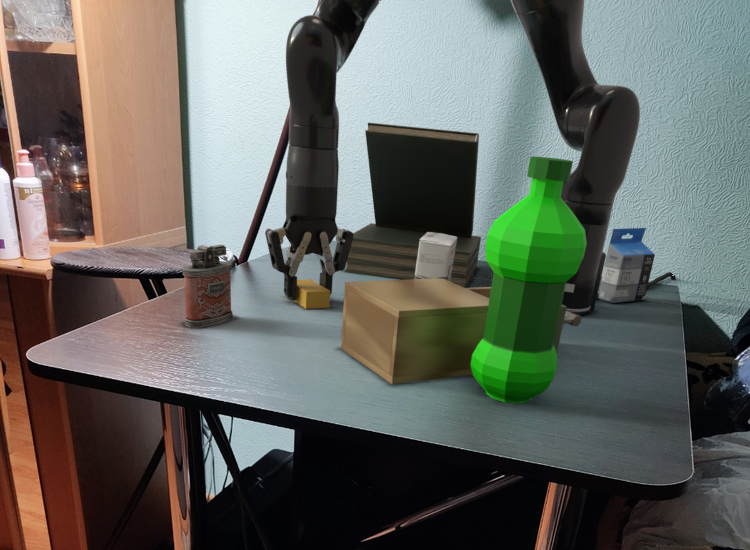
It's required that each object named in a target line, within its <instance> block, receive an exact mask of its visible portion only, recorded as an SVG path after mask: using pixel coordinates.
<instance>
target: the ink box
mask: <svg viewBox="0 0 750 550" xmlns="http://www.w3.org/2000/svg"><path fill="white" fill-rule="evenodd" d="M456 243H457V237H456V236H451V235H447V234H442V233H434V232H427V233H426V234H425V235H423V236H422V237H421V238H420V242H419V249H418V256H417V263H416V270H415V277H414V279H436V278H443V279H445V280H447V281H451V275H452V268H453V262H454V256H455V249H456Z"/></svg>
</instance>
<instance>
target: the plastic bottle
mask: <svg viewBox="0 0 750 550" xmlns="http://www.w3.org/2000/svg"><path fill="white" fill-rule="evenodd" d="M573 163H574V160H570V159H563V158H556V157H545V156H544V157H543V156H530V158H529V163H528V169H527V174H526V176H527V178H531V183H530V188H529V194H527V195H526V196H525V197H523V198H522V199H521V200H519V201H518V202H517V203H515V204H514V205H512V206H511V207H510V208H508V209H507V210H506V211H505V212H504V213H502V214H501V215H500V216H499V217H498V218H496V219H495V220H493V222H492V224H491V226H490V228H489V230H488V231H487V234H486V240H485V247H484V250H485V251H484V252H485V261H486V263H487V264H488V266H489V267H490V269H491V270H492V272H493V274H492V280H491V286H490V287H491V292H490V299H489V305H488V311H487V317H486V324H485V330H484V336H483V339H482V340H481V341H480V343H479V344H478V345H477V347H476V349H475V351H474V352H473V354H472V359H471V369H472V373H473V375H472V376H473V377H474V379H475V381H476V383H478V384H479V386H480V387H481V388H482V390H483V391H485V394H486V395H487V396H489V397H490V398H491V399H493V400H495V401H498V402H499V401H500V402H503V403H507V404H519V405H520V404H525V403H528V402H530V400H531V399H534V398H536V397H537V396H539V395H541V394H543V393H544V392H545V391H547V390H548V389H549V387H550V385H551V384H552V382H553V381H554V378H555V376H556V372H557V368H558V364H559V360H558V353H557V354H556V350H555V347H554V344H553V343H554V338H555V333H556V329H557V324H558V319H559V314H560V309H561V305H562V300H563V295H564V290H565V285H566V281H568V280H569V279H570V278H571V277H573V276H574V275H575V274H576V273H577V271H578V269H579V266H580V264H581V262H582V259H583V257H584V254H585V249H586V244H587V241H586V234H585V229H584V228H583V226H582V225H581V223H580V222H579V220H578V219H577V218H576V216H575V215H574V213H573V212H572V211H571V209H570V208H569V207H568V206H567V204H566V203H565V202H564V201H563V200H562V198H561V193H562V187H563V182H564V181H569V179H570V174H571V173H572V169H573Z"/></svg>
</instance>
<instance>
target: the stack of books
mask: <svg viewBox="0 0 750 550" xmlns="http://www.w3.org/2000/svg"><path fill="white" fill-rule="evenodd" d="M364 133H365V141H366V142H365V143H366V150H367V160H368V167H369V168H368V169H369V177H370V186H371V195H372V205H373V214H374V222H375V223H372V222H370V223H368V224H367V225H366V226H363V227H361V228H360V229H358V230H356V231H355V232H352V233H353V234H354V237H353V241H352V244H351V248H350V252H349V255H348V259H347V263H346V268H345V269H344V272H345V273H351V274H358V275H359V274H360V275H367V276H368V275H369V276H374V277H382V278H389V279H395V280H410V279H414V277H415V270H416V263H417V256H418V249H419V242H420V238H421V237H422V236H423V235H425V234H426V233H427V232H434V233H442V234H447V235H451V236H456V237H457V243H456V249H455V256H454V262H453V268H452V275H451V281H450V282H452V283H454V284H457V285H459V286H461V287H464V288H467V286H468V285H469V283H470V281H471V279H472V277H473V275H474V274H475V272H476V270H477V268H478V261H479V254H480V247H481V240H482V236H480V235H473V232H474V220H475V218H474V217H475V207H476V188H477V174H478V173H477V171H478V158H479V143H480V142H479V141H480V133H478V132H468V131H457V130H448V129H447V130H446V129H437V128H429V127H417V126H407V125H397V124H396V125H395V124H388V123H387V124H386V123H376V122H367V129H365V132H364Z"/></svg>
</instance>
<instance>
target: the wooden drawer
mask: <svg viewBox="0 0 750 550" xmlns="http://www.w3.org/2000/svg"><path fill="white" fill-rule="evenodd" d="M466 289H468V290H471V291H473V292H475V293H478V294H480V295H482V296H485V297H487V298H489V299H490V292H491V286H481V287H480V286H479V287H466ZM566 308H567V306H564V305H561V309H560V314H559V319H558V324H557V329H556V333H555V338H554V343H553V344H554V347H555V350H556V354H557V355H558V351H559V346H560V341H561V336H562V331H563V328H564V327H563V326H564V325H565V324H568V325H570V326H572V327H578V326H579V325H580V324H581V322H582V317H581V315H576V314H574V313H571V312H568V311H566Z"/></svg>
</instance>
